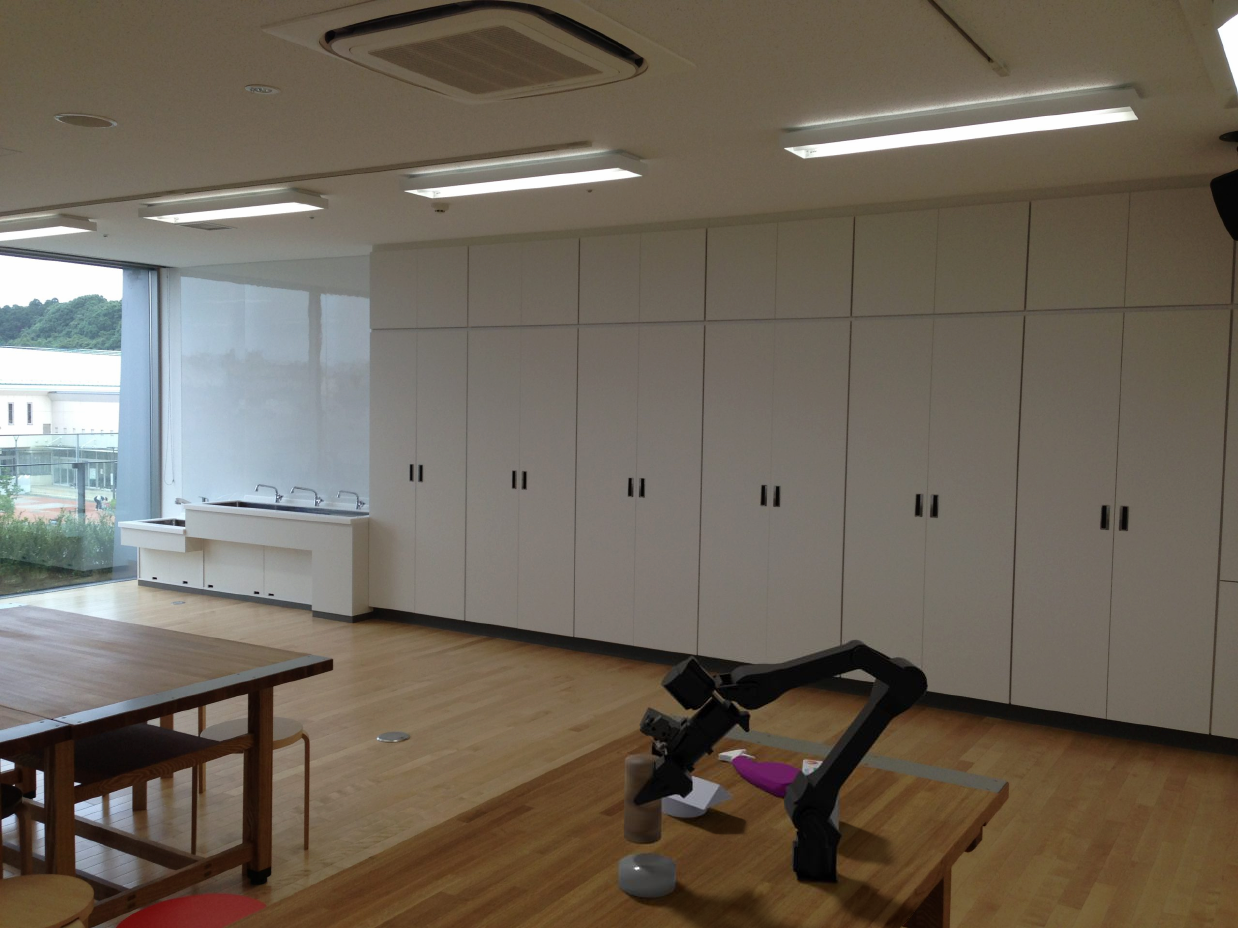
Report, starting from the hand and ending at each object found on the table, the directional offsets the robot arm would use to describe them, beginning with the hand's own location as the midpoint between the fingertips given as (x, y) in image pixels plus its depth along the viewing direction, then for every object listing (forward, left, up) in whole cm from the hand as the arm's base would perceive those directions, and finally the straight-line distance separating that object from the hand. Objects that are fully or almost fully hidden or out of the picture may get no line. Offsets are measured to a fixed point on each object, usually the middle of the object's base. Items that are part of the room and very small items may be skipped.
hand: (634, 795), depth 165 cm
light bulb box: (-32, -22, -13) cm, 41 cm away
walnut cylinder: (-1, 0, -7) cm, 7 cm away
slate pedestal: (-2, +4, -12) cm, 13 cm away
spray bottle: (-24, -48, -13) cm, 56 cm away
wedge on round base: (-9, -27, -13) cm, 31 cm away
